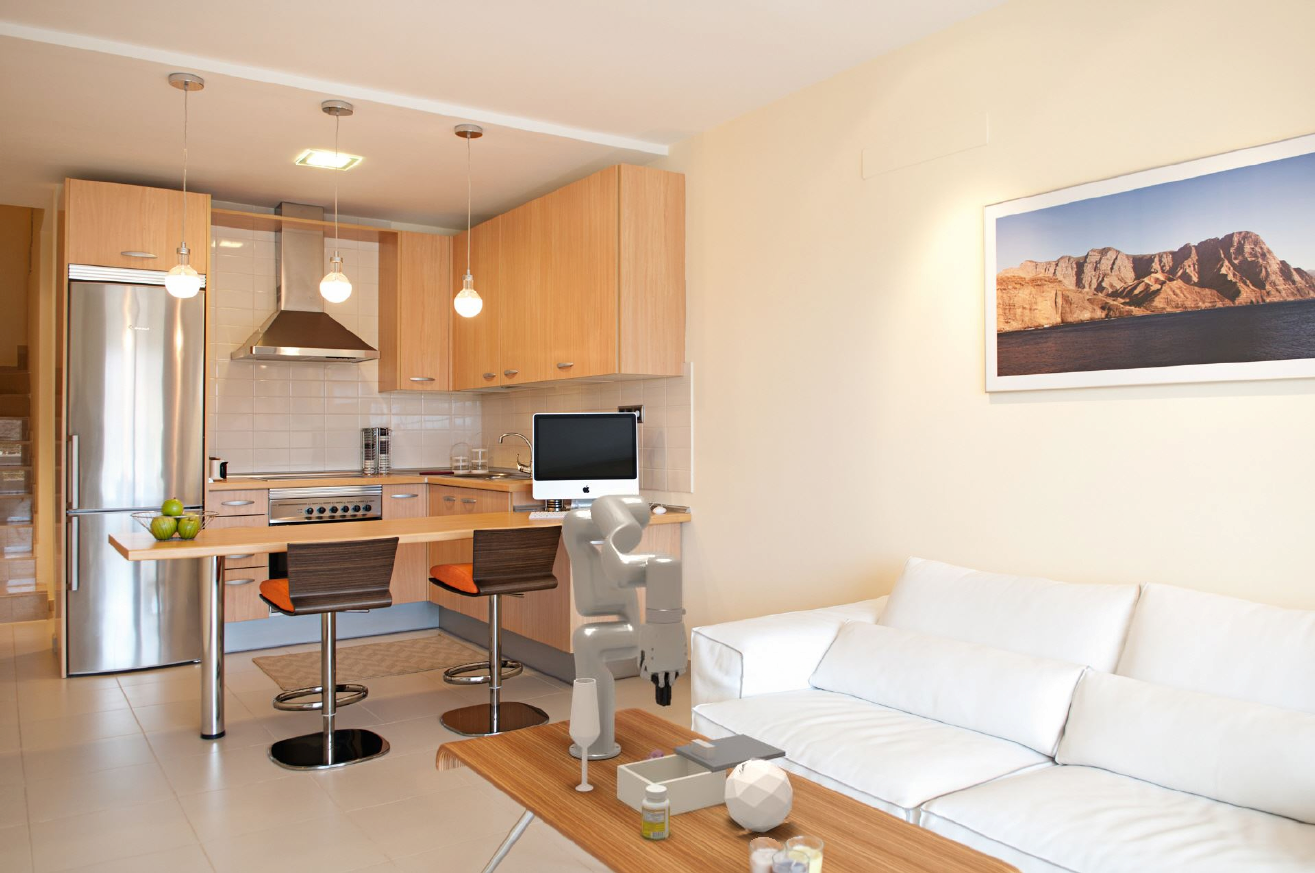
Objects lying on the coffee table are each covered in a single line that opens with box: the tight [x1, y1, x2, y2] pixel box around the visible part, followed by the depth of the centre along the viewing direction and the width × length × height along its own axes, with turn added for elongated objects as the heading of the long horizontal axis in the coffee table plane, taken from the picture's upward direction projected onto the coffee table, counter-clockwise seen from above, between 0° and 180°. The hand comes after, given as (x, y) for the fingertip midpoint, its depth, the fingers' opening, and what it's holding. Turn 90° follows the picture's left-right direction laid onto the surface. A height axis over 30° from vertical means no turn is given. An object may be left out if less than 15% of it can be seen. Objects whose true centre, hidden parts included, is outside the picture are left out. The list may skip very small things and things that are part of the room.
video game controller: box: [642, 748, 666, 761], centre depth 211 cm, size 10×5×7 cm, turn 169°
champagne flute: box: [568, 678, 600, 792], centre depth 201 cm, size 7×7×24 cm
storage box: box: [616, 753, 727, 817], centre depth 194 cm, size 14×18×8 cm
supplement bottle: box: [641, 785, 671, 841], centre depth 177 cm, size 5×5×10 cm
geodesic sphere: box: [724, 757, 794, 833], centre depth 182 cm, size 14×14×14 cm
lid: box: [673, 733, 787, 772], centre depth 202 cm, size 15×19×4 cm
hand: (663, 704), depth 193 cm, fingers closed
